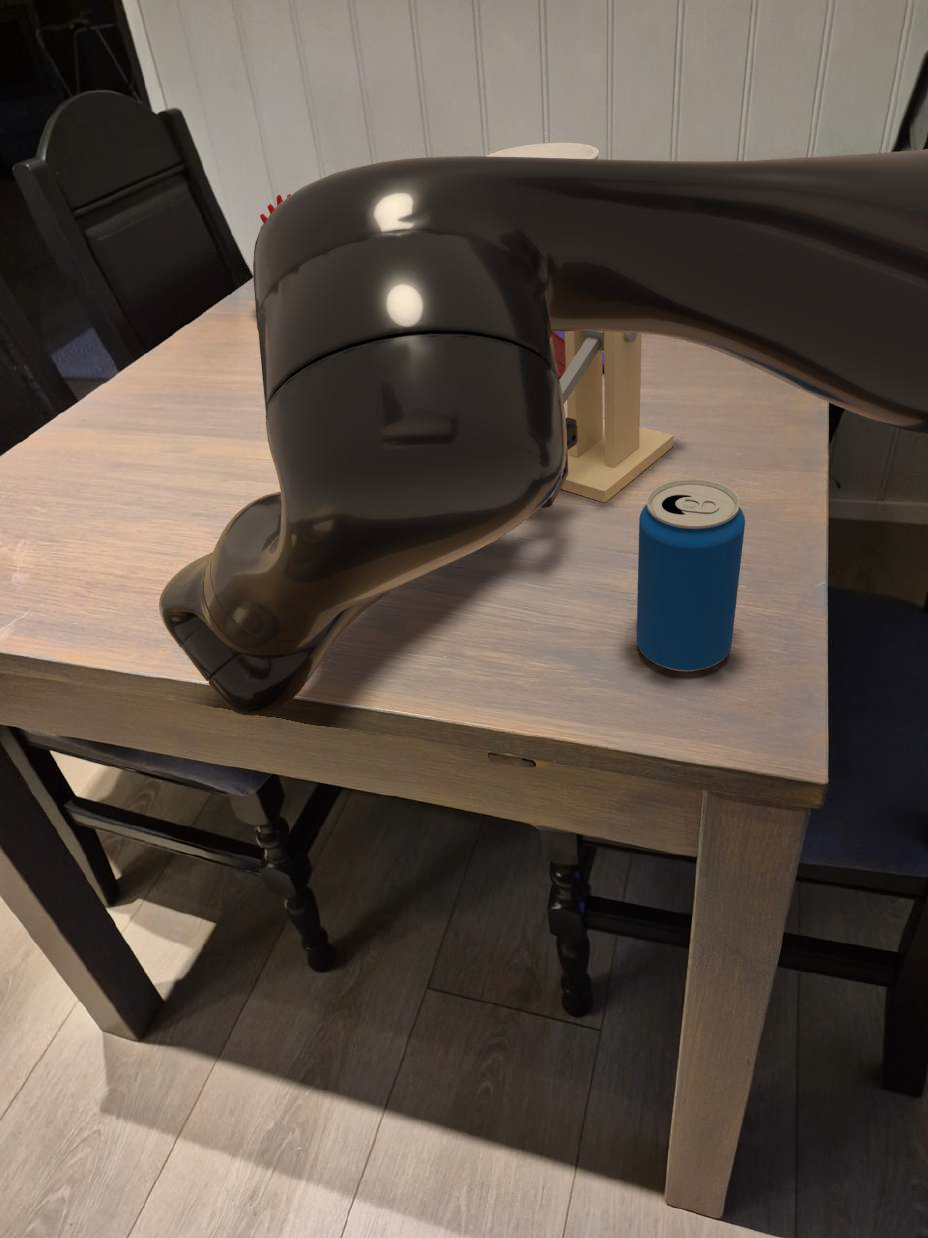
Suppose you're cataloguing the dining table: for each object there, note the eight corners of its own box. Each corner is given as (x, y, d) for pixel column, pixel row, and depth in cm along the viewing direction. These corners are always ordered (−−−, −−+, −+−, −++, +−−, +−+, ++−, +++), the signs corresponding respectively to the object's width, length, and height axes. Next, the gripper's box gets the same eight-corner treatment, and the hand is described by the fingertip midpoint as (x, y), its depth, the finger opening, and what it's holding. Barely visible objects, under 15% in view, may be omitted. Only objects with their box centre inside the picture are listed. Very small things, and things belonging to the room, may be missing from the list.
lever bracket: (605, 502, 78) (604, 340, 69) (532, 480, 83) (522, 324, 74) (673, 446, 85) (681, 290, 76) (603, 427, 90) (601, 279, 80)
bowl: (599, 187, 164) (599, 137, 159) (599, 218, 148) (599, 164, 143) (487, 196, 167) (483, 148, 162) (475, 228, 151) (470, 175, 146)
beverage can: (646, 613, 66) (651, 470, 58) (736, 626, 64) (753, 480, 56) (627, 670, 61) (629, 523, 54) (723, 686, 59) (739, 535, 52)
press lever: (545, 472, 73) (531, 445, 70) (511, 462, 75) (496, 435, 72) (633, 334, 77) (624, 303, 74) (598, 327, 79) (587, 297, 76)
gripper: (487, 494, 59) (625, 397, 69) (340, 446, 67) (483, 365, 77) (495, 586, 63) (624, 482, 73) (357, 531, 71) (490, 444, 81)
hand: (551, 423), depth 75 cm, fingers closed on press lever, 3 cm apart
